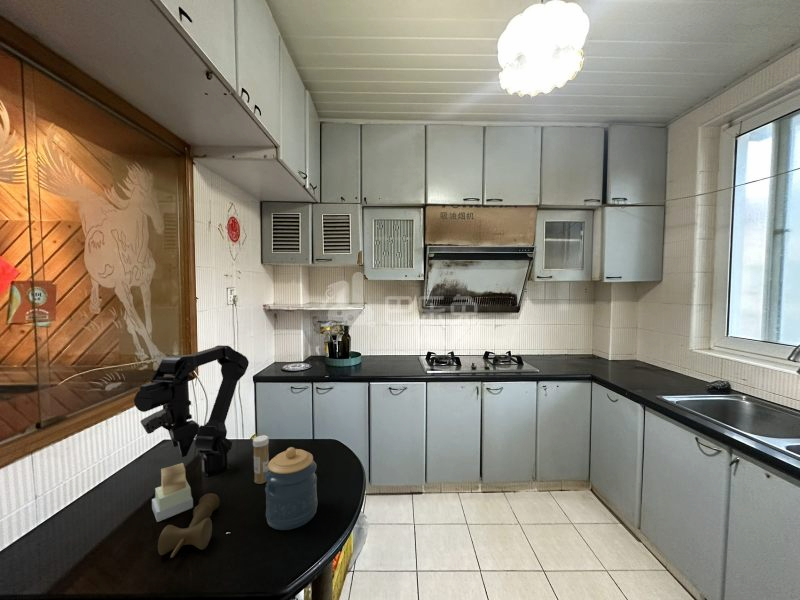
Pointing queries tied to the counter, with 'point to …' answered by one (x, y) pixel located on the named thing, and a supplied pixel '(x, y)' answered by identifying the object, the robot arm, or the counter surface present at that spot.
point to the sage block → (172, 497)
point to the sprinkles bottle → (260, 458)
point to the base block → (170, 509)
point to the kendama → (191, 528)
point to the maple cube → (173, 478)
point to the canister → (291, 489)
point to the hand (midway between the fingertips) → (179, 451)
